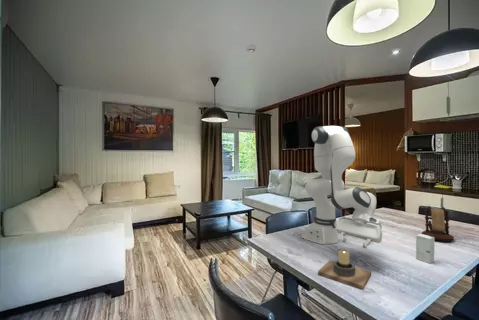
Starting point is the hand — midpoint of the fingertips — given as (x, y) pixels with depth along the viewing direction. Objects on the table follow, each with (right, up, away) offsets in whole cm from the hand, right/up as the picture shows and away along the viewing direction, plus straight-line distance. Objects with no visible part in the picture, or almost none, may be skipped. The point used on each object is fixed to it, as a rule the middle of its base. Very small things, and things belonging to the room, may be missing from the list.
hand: (353, 244), depth 105 cm
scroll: (+68, -9, +32) cm, 76 cm away
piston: (-8, -9, -7) cm, 14 cm away
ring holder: (-8, -11, -7) cm, 15 cm away
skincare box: (+38, -10, +4) cm, 39 cm away
